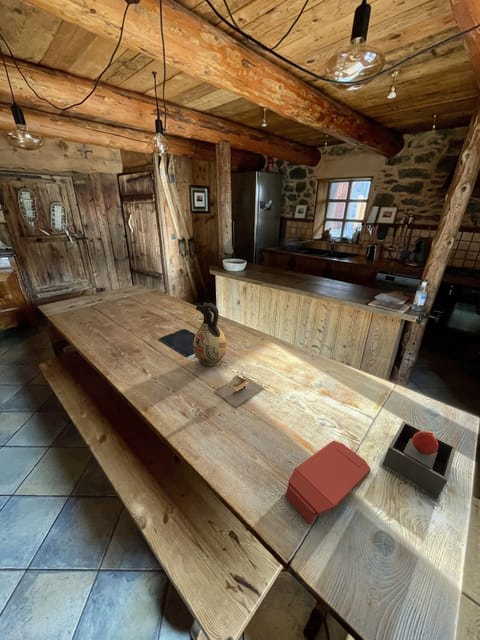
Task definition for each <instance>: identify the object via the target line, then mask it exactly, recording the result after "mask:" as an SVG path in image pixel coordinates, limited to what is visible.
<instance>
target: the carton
mask: <svg viewBox="0 0 480 640" xmlns="http://www.w3.org/2000/svg"><path fill="white" fill-rule="evenodd" d="M371 470H372V468H371V467H370V465H369V464H368V463H367V461H366V460H365V459H364V458H363V457H361V456H360V455H358V454H357V453H356V452H355V451H353V450H352V449H351V448H349V447H348V446H347V445H345V444H344V443H342V442H339V441H336V440H333V439H332V441H330V442H329V443H328V444H326V445H325V446H323V447H322V448H321V449H320V450H318V451H317V452H315V453H314V454H313V455H311V456H310V457H309V458H307V459H306V460H305V461H303V462H302V463H301V464H299V465H298V466H296V467H295V468H294V469H293V472H292V474H291V475H290V478H289V480H288V485H287V488H286V492H285V495H284V496H285V499H286V500H287V501H288V502H289V503H290V505H292V506H293V507H294V508H295V509H296V511H298V512H299V514H300V515H301V516H302V518H304V520H305V521H306V522H307V523H308V524H309V525H311V524H313V523H314V522H315V521H316V518H317V516H318V517H320V516H322V515H324V514H326V513H329V512H331V511H333V510H334V509H336V507H337V506H338V505H339V504H340V503H341V502H342V501H343V500H344V499H345V498H346V497H347V496H348V495H350V493H351V492H352V491H353V490H354V489H355V488H356V487H357V486H358V485H359V484H360V483H361V482H362V481H363V480H364V479H365V478H366V477H367V475H368V474H369V473H370V472H371Z"/></svg>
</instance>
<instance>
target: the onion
mask: <svg viewBox="0 0 480 640" xmlns="http://www.w3.org/2000/svg"><path fill="white" fill-rule="evenodd" d="M434 436H435V435H434V432H432V431H430V430H429V431H426V430H423V431H420V432H417V433H416V434H415V435H414V436H413V439H412V443H413V446H414V447H415V449H416V450H417V451H419V452H420V453H422V454H426V455H431V454H434V453H435V452H436V451H437V450H438V442H437V440H436V438H435V437H436V436H435V437H434Z"/></svg>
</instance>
